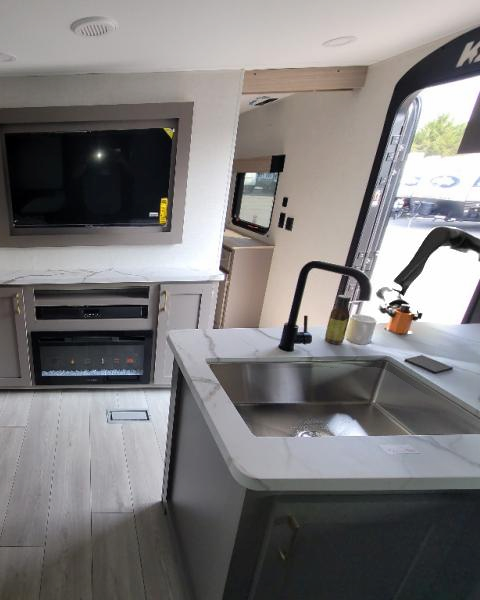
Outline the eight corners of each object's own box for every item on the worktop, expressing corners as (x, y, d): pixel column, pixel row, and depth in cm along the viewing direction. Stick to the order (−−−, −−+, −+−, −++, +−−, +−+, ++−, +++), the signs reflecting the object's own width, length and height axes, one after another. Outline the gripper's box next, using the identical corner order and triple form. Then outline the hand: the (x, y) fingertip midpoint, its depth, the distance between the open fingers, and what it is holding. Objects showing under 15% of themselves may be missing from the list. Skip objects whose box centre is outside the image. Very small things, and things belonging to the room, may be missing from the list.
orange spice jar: (386, 326, 144) (393, 307, 141) (405, 329, 141) (412, 310, 138) (389, 331, 139) (395, 312, 136) (408, 334, 136) (416, 315, 133)
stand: (393, 328, 145) (402, 301, 140) (412, 335, 138) (422, 306, 134) (381, 330, 143) (390, 303, 138) (400, 337, 137) (410, 309, 132)
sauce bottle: (344, 346, 132) (358, 300, 125) (326, 343, 134) (338, 298, 127) (339, 338, 137) (351, 294, 130) (321, 336, 139) (333, 293, 132)
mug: (373, 351, 127) (381, 327, 123) (346, 346, 131) (353, 323, 127) (367, 338, 137) (374, 316, 133) (342, 334, 141) (349, 312, 137)
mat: (421, 356, 122) (421, 354, 122) (452, 369, 114) (453, 367, 114) (404, 360, 120) (404, 358, 120) (434, 373, 112) (435, 371, 112)
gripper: (378, 294, 151) (383, 305, 138) (421, 299, 143) (431, 312, 131) (373, 309, 154) (378, 321, 141) (415, 315, 146) (425, 329, 133)
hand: (404, 317), depth 136 cm, fingers closed on orange spice jar, 6 cm apart
